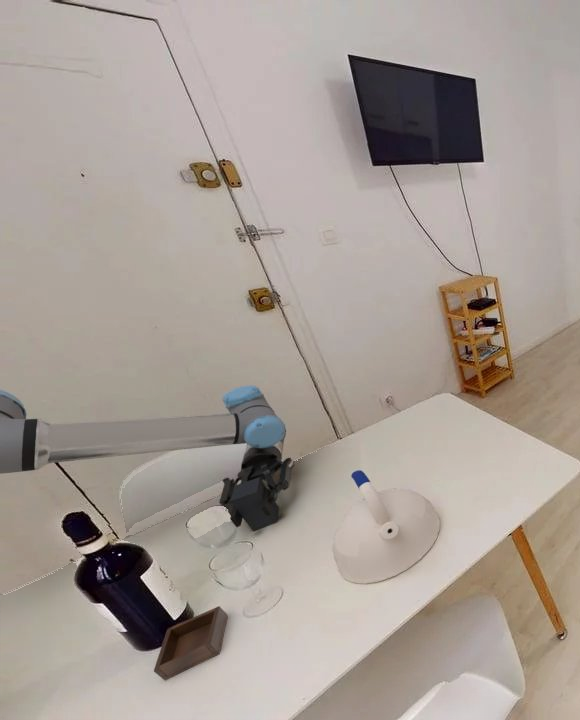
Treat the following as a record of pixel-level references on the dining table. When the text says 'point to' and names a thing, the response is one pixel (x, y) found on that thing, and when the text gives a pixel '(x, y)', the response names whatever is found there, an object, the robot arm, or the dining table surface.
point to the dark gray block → (253, 504)
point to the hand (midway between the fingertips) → (250, 516)
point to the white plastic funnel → (383, 533)
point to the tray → (191, 643)
